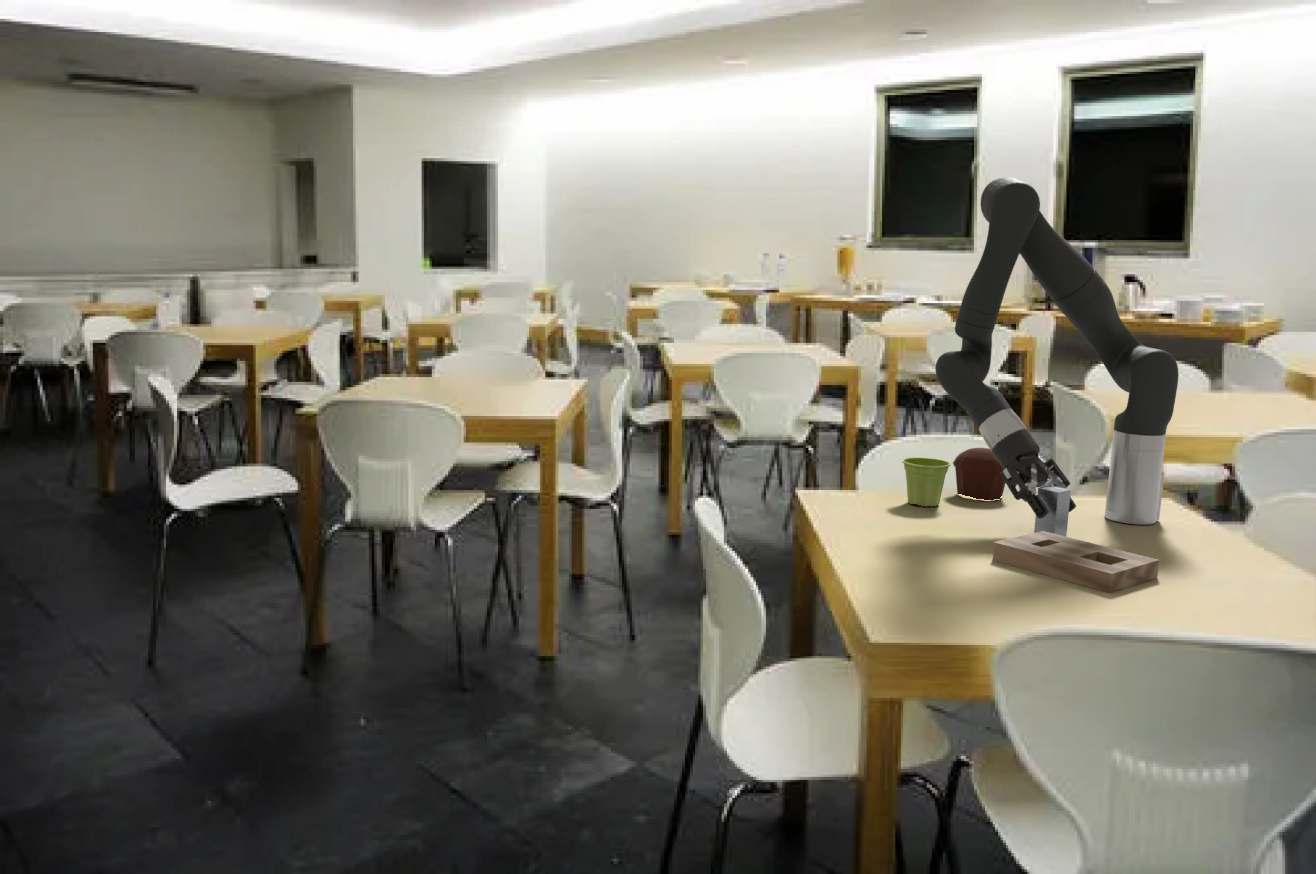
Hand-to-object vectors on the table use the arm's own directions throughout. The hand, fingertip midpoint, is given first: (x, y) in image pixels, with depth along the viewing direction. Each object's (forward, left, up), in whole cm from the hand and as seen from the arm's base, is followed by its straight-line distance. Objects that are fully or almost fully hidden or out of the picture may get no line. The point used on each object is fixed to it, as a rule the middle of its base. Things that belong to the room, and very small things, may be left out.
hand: (1058, 513), depth 204 cm
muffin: (-12, -31, -5) cm, 34 cm away
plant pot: (+4, -30, -5) cm, 31 cm away
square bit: (0, -1, -5) cm, 5 cm away
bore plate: (+12, +15, -5) cm, 20 cm away
